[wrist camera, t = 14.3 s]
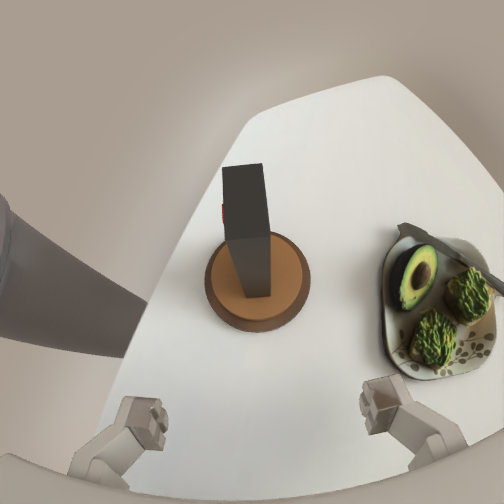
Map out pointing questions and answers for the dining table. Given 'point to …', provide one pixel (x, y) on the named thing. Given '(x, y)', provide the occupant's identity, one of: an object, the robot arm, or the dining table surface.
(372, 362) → the dining table surface
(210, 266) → the swivel stand
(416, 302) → the salad plate
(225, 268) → the slab on wooden base
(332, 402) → the dining table surface
